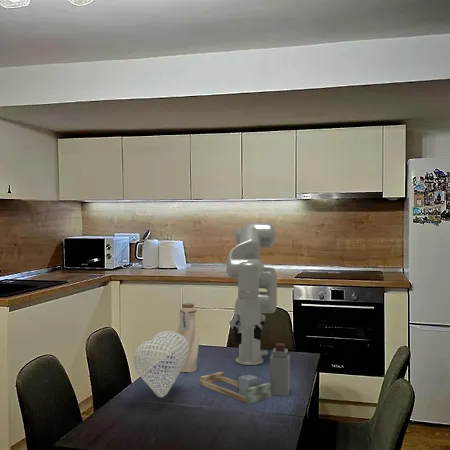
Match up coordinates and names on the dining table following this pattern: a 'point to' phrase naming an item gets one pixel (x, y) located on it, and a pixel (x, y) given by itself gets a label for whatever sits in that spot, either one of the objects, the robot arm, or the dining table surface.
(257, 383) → the grey rectangular block
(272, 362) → the perfume bottle
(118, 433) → the dining table surface
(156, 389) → the heart
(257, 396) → the track
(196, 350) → the water bottle
